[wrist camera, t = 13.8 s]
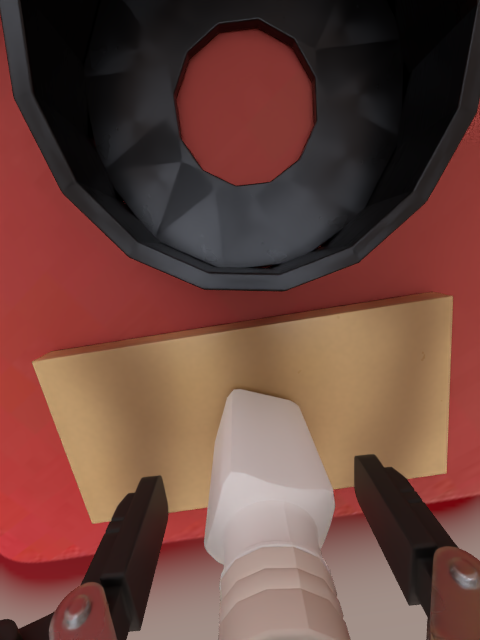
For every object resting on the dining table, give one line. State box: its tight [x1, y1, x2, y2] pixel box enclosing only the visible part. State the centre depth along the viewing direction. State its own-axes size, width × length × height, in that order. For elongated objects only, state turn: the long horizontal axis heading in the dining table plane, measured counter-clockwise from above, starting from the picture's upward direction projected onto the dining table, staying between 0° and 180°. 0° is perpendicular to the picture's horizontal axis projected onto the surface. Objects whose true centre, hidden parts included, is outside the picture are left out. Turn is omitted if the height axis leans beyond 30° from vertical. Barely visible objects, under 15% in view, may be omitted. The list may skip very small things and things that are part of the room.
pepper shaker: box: [204, 389, 350, 640], centre depth 11 cm, size 4×4×10 cm
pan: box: [0, 0, 480, 291], centre depth 10 cm, size 27×16×4 cm, turn 66°
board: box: [32, 292, 453, 524], centre depth 16 cm, size 22×11×2 cm, turn 99°
